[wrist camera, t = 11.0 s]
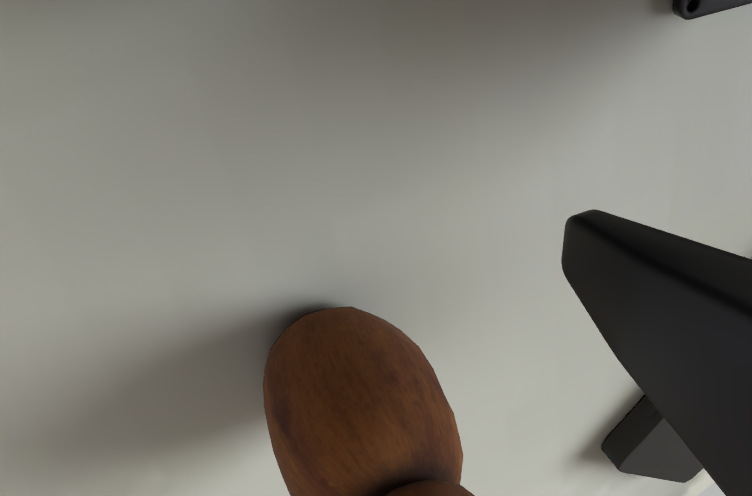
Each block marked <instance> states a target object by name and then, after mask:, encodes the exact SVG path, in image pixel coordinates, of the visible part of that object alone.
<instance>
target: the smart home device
mask: <svg viewBox="0 0 752 496" xmlns="http://www.w3.org/2000/svg"><path fill="white" fill-rule="evenodd" d="M601 449H602V450H603V452H604V453H605V454H606V455H607V457H608V458H609V459H610V460H611V462H612V463H613V464H614V465H615V467H616V468H617V469H618V470H619V471H620V472H624V473H629V474H635V475H641V476H647V477H652V478H658V479H664V480H670V481H675V482H683V483H685V482H687V481H689V480H690V479H692V478H693V477H694V476H695V475H696V474H697V473H698V472H700V471H701V470H702V469H703V466H702V465H701V464H700V462H699V461H698V460H697V459H696V457H695V456H694V455H693V454H692V452H691V451H690V450H689V449H688V447H687V446H686V445H685V444H684V442H683V441H682V440H681V439H680V437H679V436H678V435H677V434H676V432H675V431H674V430H673V428H672V427H671V426H670V425H669V423H668V422H667V421H666V420H665V418H664V417H663V416H662V415H661V413H660V412H659V411H658V410H657V408H656V407H655V406H654V405H653V403H652V402H651V401H650V400H649V398H648V397H647V396H645V397H644V398H643V399H642V400H641V401H640V402H639V403H638V405H637V406H636V407H635V408H634V409H633V410H632V411H631V412H630V413H629V414H628V415H627V417H626V418H625V419H624V420H623V421H622V422H621V423H620V424H619V425H618V426H617V428H616V429H615V430H614V431H613V432H612V433H611V434H610V435H609V437H608V438H607V439H606V440H605V442H604V443H603V445H602V448H601Z"/></svg>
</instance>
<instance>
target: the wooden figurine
mask: <svg viewBox="0 0 752 496" xmlns="http://www.w3.org/2000/svg"><path fill="white" fill-rule="evenodd" d="M263 394H264V408H265V413H266V419H267V425H268V430H269V434H270V438H271V443H272V447H273V451H274V454H275V457H276V460H277V463H278V466H279V468H280V471H281V474H282V477H283V479H284V481H285V484H286V486H287V489H288V491H289V493H290V495H291V496H474V495H473V494H472V493H470V492H469V491H468V490H466V489H465V488H464V487H463V486H461V485H460V480H461V471H462V462H463V452H462V447H461V442H460V437H459V433H458V429H457V425H456V421H455V417H454V413H453V411H452V409H451V407H450V405H449V403H448V401H447V399H446V397H445V395H444V393H443V391H442V388H441V386H440V384H439V381H438V379H437V377H436V374H435V372H434V370H433V368H432V366H431V365H430V363H429V362H428V360H427V359H426V357H425V355H424V354H423V352H422V351H421V349H420V348H419V346H417V345H416V344H415V343H414V342H413V341H412V340H411V339H410V338H409V337H407V336H406V335H405V334H404V333H403V332H402V331H401V330H399V329H398V328H396V327H395V326H393V325H392V324H390V323H388V322H387V321H385V320H384V319H381V318H379V317H377V316H374V315H372V314H370V313H367V312H365V311H362V310H359V309H356V308H354V307H340V308H328V309H325V310H321V311H317V312H314V313H310V314H306V315H305V316H303V317H302V318H301V319H299V320H298V321H296V322H295V323H294V324H292V325H291V326H289V327H288V328H287V329H286V330H285V331H284V332H283V333H282V335H281V336H280V337H279V339H278V340H277V341H276V343H275V344H274V345H273V346H272V348H271V349H270V352H269V356H268V359H267V363H266V366H265V372H264V380H263Z"/></svg>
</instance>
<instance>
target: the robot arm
mask: <svg viewBox="0 0 752 496" xmlns="http://www.w3.org/2000/svg"><path fill="white" fill-rule="evenodd" d="M689 1H690V0H673V4H672V10H673V12H674V14H675V15H677V16H679V17H681V18H683V19H685V20H690V19H694V18H698V17H701V16H705V15H709V14H713V13H716V12H720V11H724V10H727V9H731V8H735V7H739V6H742V5H746V4H750V3H752V0H691V1H690V3H689V5H688V6H687V4H688V2H689ZM561 262H562V269H563V272H564V275H565V277H566V278H567V280H568V282H569V283H570V285H571V287H572V288H573V290H574V291H575V293H576V294H577V296H578V298H579V299H580V301H581V302H582V304H583V306H584V307H585V309H586V310H587V312H588V314H589V315H590V317H591V318H592V320H593V321H594V323H595V325H596V326H597V328H598V329H599V331H600V333H601V334H602V336H603V337H604V339H605V341H606V342H607V344H608V345H609V347H610V348H611V350H612V351H613V353H614V354H615V356H616V357H617V359H618V360H619V361H620V363H621V364H622V365H623V367H624V368H625V369H626V370H627V372H628V373H629V374H630V376H631V377H632V378H633V379H634V381H635V382H636V383H637V384H638V386H639V387H640V388H641V389H642V391H643V392H644V393H645V394H646V396H647V397H648V398H649V400H650V401H651V402H652V403H653V405H654V406H655V407H656V408H657V410H658V411H659V412H660V413H661V415H662V416H663V417H664V418H665V420H666V421H667V422H668V423H669V425H670V426H671V427H672V428H673V430H674V431H675V432H676V434H677V435H678V436H679V437H680V439H681V440H682V441H683V442H684V444H685V445H686V446H687V447H688V449H689V450H690V451H691V452H692V454H693V455H694V456H695V457H696V459H697V460H698V461H699V462H700V464H701V465H702V466H703V468H704V469H705V470H706V471H707V473H708V474H709V475H710V476H711V478H712V479H713V480H714V481H715V483H716V484H717V485H718V486H719V488H720V489H721V490H722V491H723V492H724V494H725V495H726V496H752V260H751V259H748V258H745V257H742V256H739V255H736V254H733V253H730V252H727V251H723V250H720V249H717V248H714V247H711V246H708V245H705V244H702V243H699V242H696V241H692V240H689V239H686V238H683V237H680V236H677V235H674V234H671V233H668V232H665V231H662V230H658V229H655V228H652V227H649V226H646V225H643V224H640V223H637V222H634V221H631V220H628V219H624V218H621V217H618V216H615V215H612V214H609V213H606V212H603V211H600V210H588V211H585V212H582V213H579V214H576V215H573V216H571V217H570V218H568V220H567V222H566V224H565V232H564V241H563V250H562V259H561Z"/></svg>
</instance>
